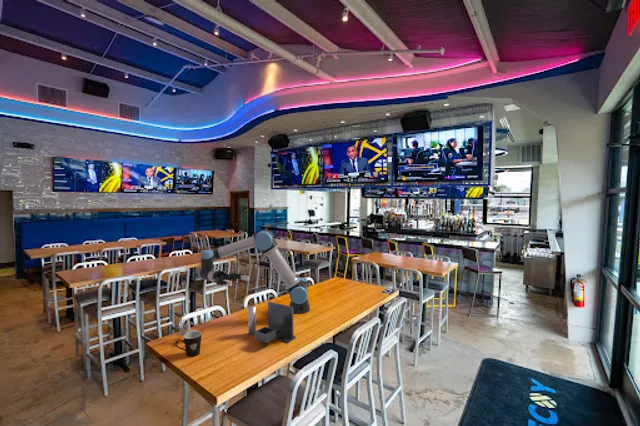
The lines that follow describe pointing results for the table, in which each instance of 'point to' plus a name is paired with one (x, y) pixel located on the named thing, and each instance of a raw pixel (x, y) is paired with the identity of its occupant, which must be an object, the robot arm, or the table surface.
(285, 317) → the cup bracket
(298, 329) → the table surface
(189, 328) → the pipe connector
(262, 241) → the robot arm
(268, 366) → the table surface
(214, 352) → the table surface
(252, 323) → the rail post
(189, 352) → the coffee mug
